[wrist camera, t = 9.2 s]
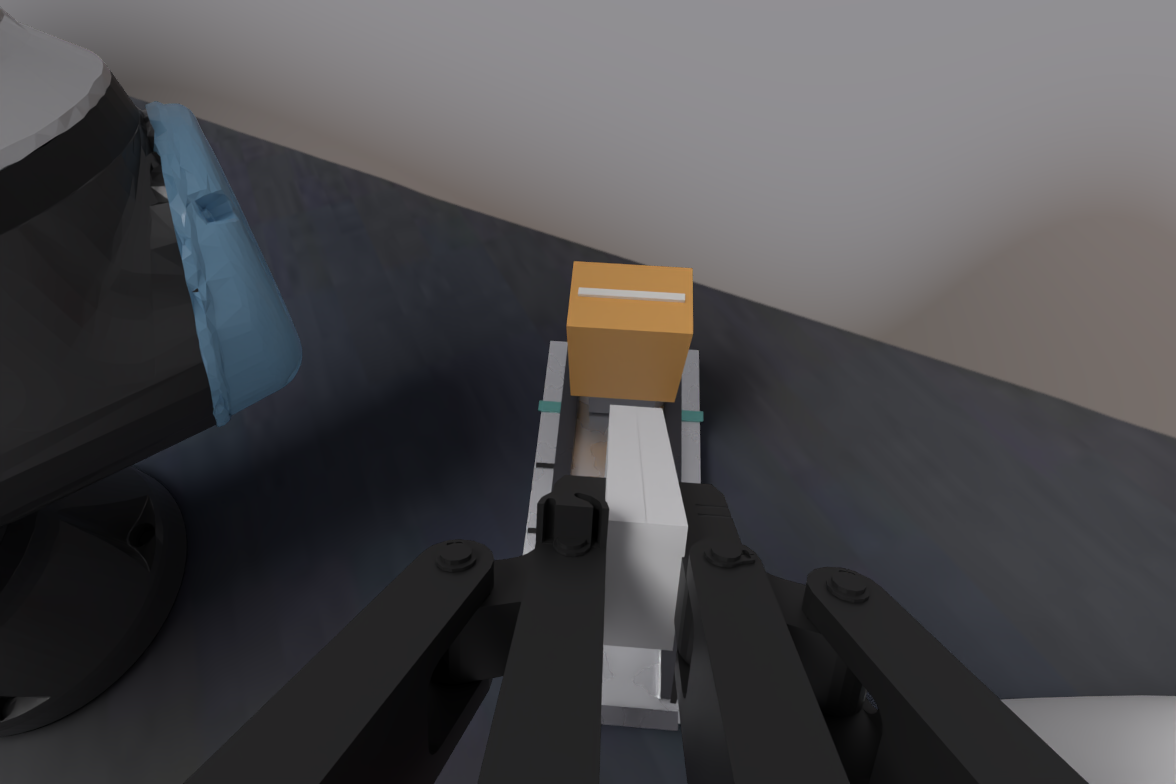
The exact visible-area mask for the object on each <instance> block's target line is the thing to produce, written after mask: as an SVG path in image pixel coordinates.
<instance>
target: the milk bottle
mask: <svg viewBox="0 0 1176 784" xmlns="http://www.w3.org/2000/svg"><path fill="white" fill-rule="evenodd" d="M1001 701H1002V702H1003V703H1004V704H1005V705H1006V706H1007V707H1009V708H1010V709H1011V710H1012V711H1013V712H1014V713H1015V714H1016V715H1017V716H1018V717H1019V718H1020V719H1021V720H1022V721H1023V722H1024V723H1025V724H1027V725H1028V726H1029V727H1030V728H1031V729H1032V730H1033V731H1034V732H1035V733H1036V734H1037V735H1038V736H1039V737H1040V738H1041V739H1042V740H1043V741H1044V742H1046V743H1047V744H1048V745H1049V746H1050V747H1051V748H1052V749H1053V750H1054V751H1055V752H1056V753H1057V754H1058V755H1059V756H1060V757H1061V758H1062V759H1064V760H1065V761H1066V762H1067V763H1068V764H1069V765H1070V766H1071V767H1072V768H1073V769H1074V770H1075V771H1076V772H1077V773H1078V774H1079V775H1080V776H1081V777H1083V778H1084V779H1085V780H1086V781H1087V782H1088V783H1089V784H1176V696H1146V695H1137V696H1084V697H1052V698H1023V699H1003V700H1001Z"/></svg>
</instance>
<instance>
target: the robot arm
mask: <svg viewBox="0 0 1176 784" xmlns="http://www.w3.org/2000/svg"><path fill="white" fill-rule="evenodd" d="M145 108H146V109H147V110H142V111H141V110H140V109H139V108H138V107H137V106H135V105H134V103H133V102H132V100H131V99H130V98H129V96H128V95H127V93H126V92H125V91H124V89H123V88H122V86H121V85H120V84H119V82H118V81H117V80H116V78H115V77H114V75H113V74H112V72H111V71H110V70H109V68H108V67H107V65H106V64H105V63H104V61H103V60H102V59H101V58H100V57H99V56H98V55H96V53H94V52H92V51H90V50H88V49H86V48H83V47H80V46H78V45H75V44H73V43H70V42H68V41H65V40H63V39H60V38H58V37H55V36H52V35H50V34H48V33H45V32H43V31H40V30H38V29H35V28H32V27H30V26H27V25H25V24H22V23H20V22H17V21H16V20H15V19H14V18H13V17H11V16H10V15H9V14H8V13H7V12H5V11H4V10H3V9H2V8H1V7H0V737H1V736H8V735H14V734H18V733H23V732H27V731H30V730H33V729H36V728H39V727H42V726H45V725H47V724H50V723H52V722H54V721H56V720H59V719H61V718H63V717H65V716H66V715H68V714H70V713H72V712H74V711H75V710H77V709H79V708H81V707H82V706H84V705H85V704H87V703H88V702H90V701H91V700H93V699H94V698H95V697H97V696H98V695H100V694H101V693H102V692H104V691H105V690H106V689H107V688H108V687H110V686H111V685H112V684H113V683H114V682H115V681H117V680H118V679H119V678H120V677H121V676H122V675H123V674H124V673H125V672H126V671H127V670H128V669H129V668H130V667H131V666H132V665H133V664H134V663H135V661H136V660H137V659H138V658H139V657H140V656H141V655H142V653H143V652H144V651H145V650H146V648H147V647H148V646H149V644H150V643H151V642H152V640H153V639H154V637H155V636H156V635H157V633H158V631H159V630H160V628H161V627H162V625H163V623H164V621H165V620H166V618H167V616H168V614H169V612H170V610H171V608H172V606H173V604H174V601H175V599H176V596H177V594H178V591H179V588H180V585H181V582H182V578H183V574H184V569H185V563H186V554H187V538H186V529H185V524H184V520H183V517H182V514H181V511H180V509H179V507H178V505H177V503H176V501H175V500H174V498H173V497H172V495H171V494H170V493H169V492H168V490H167V489H166V488H165V487H164V486H163V485H162V484H160V483H159V482H158V481H157V480H155V479H154V478H152V477H151V476H149V475H147V474H145V473H144V472H142V471H140V470H138V469H136V468H134V467H132V466H131V465H133V464H135V463H137V462H139V461H141V460H144V459H146V458H148V457H150V456H152V455H154V454H156V453H158V452H160V451H162V450H164V449H166V448H168V447H170V446H173V445H175V444H177V443H179V442H181V441H183V440H185V439H187V438H189V437H191V436H193V435H195V434H197V433H200V432H202V431H204V430H206V429H208V428H210V427H212V426H214V425H216V426H218V427H221V426H223V425H225V424H226V423H227V422H229V421H230V419H231V416H232V415H234V414H235V413H237V412H239V411H241V410H243V409H245V408H247V407H248V406H250V405H252V404H254V403H256V402H258V401H260V400H261V399H263V398H265V397H267V396H269V395H271V394H273V393H274V392H276V391H278V390H280V389H282V388H283V387H285V386H286V385H287V384H288V383H290V382H291V381H292V380H293V378H294V377H295V376H296V374H297V372H298V370H299V367H300V365H301V361H302V346H301V342H300V339H299V337H298V334H297V331H296V329H295V326H294V324H293V321H292V319H291V317H290V314H289V312H288V310H287V308H286V305H285V303H284V301H283V298H282V296H281V294H280V292H279V290H278V287H277V285H276V283H275V281H274V278H273V276H272V274H271V272H270V270H269V268H268V265H267V263H266V261H265V259H264V257H263V254H262V252H261V250H260V248H259V246H258V244H257V242H256V240H255V238H254V235H253V233H252V231H251V229H250V227H249V225H248V223H247V220H246V218H245V216H244V214H243V212H242V210H241V207H240V205H239V203H238V201H237V199H236V197H235V195H234V193H233V191H232V189H231V187H230V185H229V182H228V180H227V178H226V176H225V174H224V172H223V170H222V168H221V166H220V164H219V162H218V160H217V158H216V156H215V154H214V152H213V150H212V148H211V146H210V145H209V143H208V141H207V139H206V138H205V136H204V134H203V132H202V130H201V128H200V126H199V124H198V121H197V119H196V117H195V116H194V114H193V113H192V112H191V110H190V109H188V108H187V107H185V106H183V105H180V104H162V103H160V102H157V101H154V102H152V103H149V104H147V105H145ZM675 633H676V641H677V653H676V661H675V669H674V676H673V684H672V692H671V700H670V703H674V704H676V701H677V698H678V706H679V715H680V723H681V732H682V740H683V749H684V757H685V766H686V774H687V783H688V784H1089V783H1088V782H1087V781H1086V780H1085V779H1084V778H1083V777H1081V776H1080V775H1079V774H1078V773H1077V772H1076V771H1075V770H1074V769H1073V768H1072V767H1071V766H1070V765H1069V764H1068V763H1067V762H1066V761H1065V760H1064V759H1062V758H1061V757H1060V756H1059V755H1058V754H1057V753H1056V752H1055V751H1054V750H1053V749H1052V748H1051V747H1050V746H1049V745H1048V744H1047V743H1046V742H1044V741H1043V740H1042V739H1041V738H1040V737H1039V736H1038V735H1037V734H1036V733H1035V732H1034V731H1033V730H1032V729H1031V728H1030V727H1029V726H1028V725H1027V724H1025V723H1024V722H1023V721H1022V720H1021V719H1020V718H1019V717H1018V716H1017V715H1016V714H1015V713H1014V712H1013V711H1012V710H1011V709H1010V708H1009V707H1007V706H1006V705H1005V704H1004V703H1003V702H1002V701H1001V700H1000V699H999V698H998V697H997V696H996V695H995V694H994V693H993V692H992V691H991V690H989V689H988V688H987V687H986V686H985V685H984V684H983V683H982V682H981V681H980V680H979V679H978V678H977V677H976V676H975V675H974V674H973V673H972V672H970V671H969V670H968V669H967V668H966V667H965V666H964V665H963V664H962V663H961V662H960V661H959V660H958V659H957V658H956V657H955V656H954V655H952V654H951V653H950V652H949V651H948V650H947V649H946V648H945V647H944V646H943V645H942V644H941V643H940V642H939V641H938V640H937V639H936V638H935V637H933V636H932V635H931V634H930V633H929V632H928V631H927V630H926V629H925V628H924V627H923V626H922V625H921V624H920V623H919V622H918V621H917V620H915V619H914V618H913V617H912V616H911V615H910V614H909V613H908V612H907V611H906V610H905V609H904V608H903V607H902V606H901V605H900V604H899V603H897V602H896V601H895V600H894V599H893V598H892V597H891V596H890V595H889V594H888V593H887V592H886V591H885V590H884V589H883V588H882V587H880V586H879V585H878V584H876V583H875V582H874V581H872V580H871V579H869V578H867V577H865V576H863V575H861V574H859V573H857V572H855V571H852V570H849V569H848V570H846V569H845V568H835V567H823V568H819V569H814V570H813V571H812V572H811V573H810V574H808V577H807V582H806V585H803V584H799V583H795V582H792V581H788V580H784V579H781V578H778V577H775V576H773V575H771V574H768V573H766V572H765V569H764V567H763V564H762V562H761V560H760V558H759V557H758V556H757V554H756V553H755V552H754V551H752V550H751V549H749V548H748V547H746V546H745V545H742V544H741V541H740V538H739V536H738V533H737V530H736V527H735V525H734V522H733V519H732V518H731V514H730V511H729V509H728V505H727V503H726V500H725V497H724V495H723V494H722V493H721V492H720V491H718V490H717V489H716V488H715V487H714V486H713V485H712V484H700V483H687V482H678V478H677V473H676V469H675V464H674V460H673V455H672V450H671V446H670V441H669V437H668V432H667V428H666V423H665V418H664V414H663V409H662V408H650V407H636V406H622V405H610V412H609V425H608V439H607V452H606V465H605V478H601V477H588V476H575V475H564V476H563V477H562V478H561V479H559V480H558V481H557V482H556V483H555V484H554V488H553V492H550V493H548V494H546V495H544V496H543V497H541V499H540V500H539V501H538V503H537V520H536V543H535V548H534V550H532V551H530V552H529V553H527V554H524V555H521V556H519V557H515V558H510V559H503V560H495V561H494V558H493V554H492V551H491V550H490V549H488V548H487V547H486V546H485V545H483V544H480V543H478V542H475V541H470V540H462V539H458V540H448V541H444V542H441V543H438V544H435V545H432V546H431V547H429V548H428V549H426V550H425V551H423V552H422V553H421V554H420V555H419V556H418V557H417V558H416V559H415V560H414V561H413V562H412V563H411V564H410V565H409V566H408V567H407V568H406V569H405V570H404V571H403V572H402V573H400V574H399V575H398V576H397V577H396V578H395V579H394V580H393V581H392V582H391V583H390V584H389V585H388V586H387V587H386V588H385V589H384V590H383V591H382V592H381V593H380V594H379V595H378V596H377V597H376V598H375V599H374V600H373V601H372V602H371V603H369V604H368V605H367V606H366V607H365V608H364V609H363V610H362V611H361V612H360V613H359V614H358V615H357V616H356V617H355V618H354V619H353V620H352V621H351V622H350V623H349V624H348V625H347V626H346V627H345V628H344V629H343V630H342V631H341V632H339V633H338V634H337V635H336V636H335V637H334V638H333V639H332V640H331V641H330V642H329V643H328V644H327V645H326V646H325V647H324V648H323V649H322V650H321V651H320V652H319V653H318V654H317V655H316V656H315V657H314V658H313V659H312V660H311V661H309V662H308V663H307V664H306V665H305V666H304V667H303V668H302V669H301V670H300V671H299V672H298V673H297V674H296V675H295V676H294V677H293V678H292V679H291V680H290V681H289V682H288V683H287V684H286V685H285V686H284V687H283V688H282V689H281V690H280V691H278V692H277V693H276V694H275V695H274V696H273V697H272V698H271V699H270V700H269V701H268V702H267V703H266V704H265V705H264V706H263V707H262V708H261V709H260V710H259V711H258V712H257V713H256V714H255V715H254V716H253V717H252V718H251V719H250V720H248V721H247V722H246V723H245V724H244V725H243V726H242V727H241V728H240V729H239V730H238V731H237V732H236V733H235V734H234V735H233V736H232V737H231V738H230V739H229V740H228V741H227V742H226V743H225V744H224V745H223V746H222V747H221V748H220V749H219V750H217V751H216V752H215V753H214V754H213V755H212V756H211V757H210V758H209V759H208V760H207V761H206V762H205V763H204V764H203V765H202V766H201V767H200V768H199V769H198V770H197V771H196V772H195V773H194V774H193V775H192V776H191V777H190V778H189V779H187V780H186V781H185V782H184V783H183V784H434V782H435V780H436V779H437V777H438V775H439V774H440V772H441V770H442V769H443V767H444V765H445V764H446V762H447V760H448V759H449V757H450V755H451V753H452V752H453V750H454V748H455V747H456V745H457V743H458V742H459V740H460V738H461V737H462V735H463V733H464V731H465V730H466V728H467V726H468V725H469V723H470V721H471V720H472V718H473V716H474V715H475V713H476V711H477V710H478V708H479V706H480V704H481V703H482V701H483V699H484V698H485V696H486V694H487V693H488V691H489V688H490V685H491V682H492V678H495V677H501V676H503V680H502V684H501V688H500V693H499V697H498V701H497V705H496V709H495V713H494V717H493V721H492V726H491V730H490V734H489V738H488V742H487V746H486V750H485V755H484V759H483V763H482V767H481V771H480V775H479V779H478V784H599V772H600V739H601V706H602V673H603V645H610V646H622V647H634V648H646V649H657V650H669V651H673V643H674V635H675ZM867 691H868V692H869V693H870V695H871V696H872V697H873V699H874V701H875V702H876V704H877V706H878V710H877V709H875V708H874V707H873V706H872V704H871V703H870V702H869V700H868V699H867V698H866V693H867Z"/></svg>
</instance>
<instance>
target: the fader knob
mask: <svg viewBox="0 0 1176 784" xmlns="http://www.w3.org/2000/svg"><path fill="white" fill-rule="evenodd" d="M692 272H693V270H692V268H680V267H663V266H646V265H629V264H612V263H595V262H578V261H574V265H573V274H572V283H571V291H570V300H569V309H568V317H567V343H568V359H569V376H570V392H571V396H585V397H589V412H594V413H609V412H610V405H622V406H636V407H650V408H654V407H655V402H656V401H660V402H675V398H676V395H677V391H678V387H679V384H680V380H681V376H682V373H683V369H684V365H685V362H686V358H687V354H688V351H689V347H690V343H691V340H692V336H693V277H692V276H693V274H692Z"/></svg>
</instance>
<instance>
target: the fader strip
mask: <svg viewBox="0 0 1176 784" xmlns="http://www.w3.org/2000/svg"><path fill="white" fill-rule="evenodd" d="M654 408H662V409H663V414H664V418H665V423H666V428H667V432H668V437H669V441H670V446H671V450H672V455H673V460H674V464H675V469H676V473H677V478H678V482H687V483H700V484H701V471H700V422H703V411H700V402H699V350H689V351H688V354H687V358H686V362H685V365H684V369H683V373H682V376H681V380H680V384H679V387H678V391H677V395H676V398H675V402H660V401H656V402H655V407H654ZM538 411H541V419H540V427H539V434H538V442H537V450H536V458H535V465H534V473H533V481H532V489H531V497H530V504H529V512H528V520H527V528H526V535H525V543H524V551H523V555H524V554H527V553H529V552H530V551H532V550H534V548H535V543H536V520H537V503H538V501H539V500H540V499H541V497H543V496H544V495H546V494H548V493H550V492H553V488H554V484H555V483H556V482H557V481H558V480H559V479H561V478H562V477H563V476H564V475H575V476H588V477H601V478H605V465H606V452H607V439H608V425H609V413H594V412H589V397H585V396H571V392H570V376H569V359H568V343H567V342H560V341H550V349H549V357H548V364H547V372H546V380H545V388H544V395H543V401H540V400H539V408H538ZM676 653H677V641H676V633H675V635H674V643H673V651H669V650H657V649H646V648H634V647H622V646H610V645H603V673H602V706H601V724H605V725H616V726H628V727H639V728H650V729H662V730H673V731H678V724H681V723H680V715H679V706H678V698H677V701H676V704H674V703H670V700H671V692H672V684H673V676H674V669H675V661H676Z"/></svg>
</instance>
